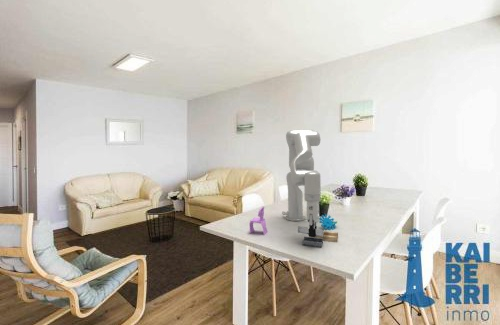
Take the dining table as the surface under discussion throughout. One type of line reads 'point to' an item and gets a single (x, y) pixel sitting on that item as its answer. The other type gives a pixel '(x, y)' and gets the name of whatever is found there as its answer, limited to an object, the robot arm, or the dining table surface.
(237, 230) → the dining table surface
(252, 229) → the toy chair
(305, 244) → the cradle
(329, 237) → the beam
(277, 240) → the dining table surface
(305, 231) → the axle
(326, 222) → the gear
